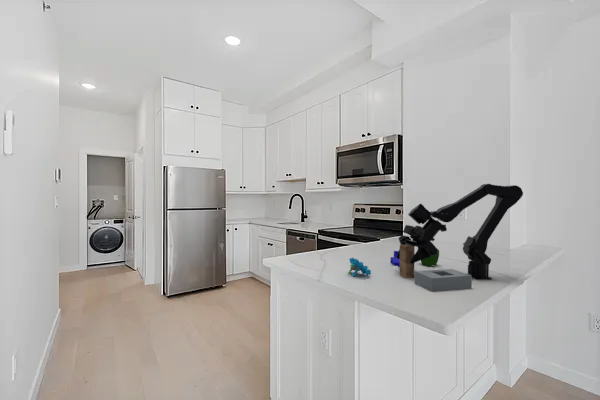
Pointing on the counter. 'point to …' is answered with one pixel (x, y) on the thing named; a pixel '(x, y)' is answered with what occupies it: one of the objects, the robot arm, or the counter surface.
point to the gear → (358, 267)
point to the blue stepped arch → (395, 259)
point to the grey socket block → (443, 280)
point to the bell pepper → (431, 260)
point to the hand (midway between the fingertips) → (403, 260)
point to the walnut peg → (406, 261)
